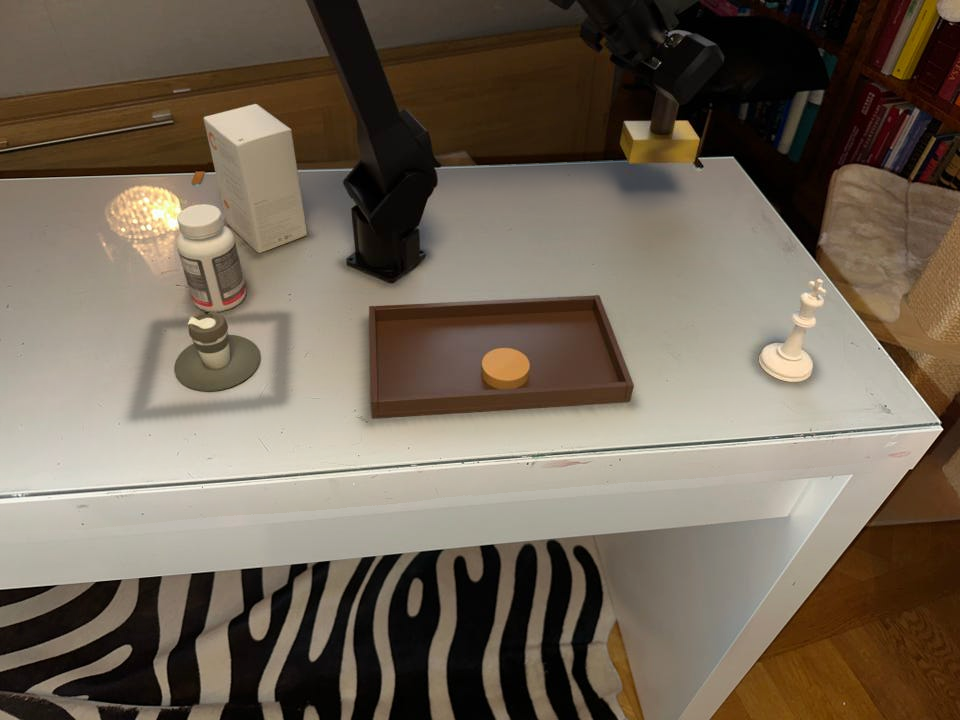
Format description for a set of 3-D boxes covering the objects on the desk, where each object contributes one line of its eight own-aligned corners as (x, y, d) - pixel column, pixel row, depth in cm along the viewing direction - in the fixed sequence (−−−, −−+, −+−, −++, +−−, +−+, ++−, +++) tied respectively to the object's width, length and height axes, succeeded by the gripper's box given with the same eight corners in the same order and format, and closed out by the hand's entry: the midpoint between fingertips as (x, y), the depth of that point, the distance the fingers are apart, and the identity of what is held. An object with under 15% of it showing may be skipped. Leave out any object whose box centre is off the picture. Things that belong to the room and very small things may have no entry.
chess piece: (784, 388, 70) (821, 304, 63) (747, 356, 73) (778, 272, 66) (822, 372, 72) (862, 289, 65) (785, 342, 75) (819, 259, 68)
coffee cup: (280, 400, 67) (272, 359, 63) (139, 413, 65) (122, 372, 62) (284, 315, 75) (276, 275, 72) (159, 325, 74) (145, 284, 70)
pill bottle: (243, 277, 80) (225, 196, 73) (250, 307, 76) (231, 225, 70) (190, 287, 78) (167, 204, 72) (194, 318, 75) (170, 234, 68)
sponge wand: (629, 163, 89) (651, 42, 80) (619, 144, 93) (639, 26, 83) (694, 162, 90) (724, 42, 80) (682, 143, 93) (709, 26, 84)
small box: (308, 236, 86) (293, 128, 77) (258, 255, 83) (235, 145, 74) (274, 206, 91) (256, 101, 82) (225, 223, 87) (200, 116, 79)
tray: (372, 418, 65) (370, 401, 64) (370, 322, 75) (368, 305, 74) (630, 402, 68) (634, 385, 67) (596, 310, 78) (599, 294, 76)
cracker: (472, 377, 69) (472, 368, 68) (497, 351, 72) (497, 341, 71) (513, 396, 67) (514, 387, 66) (537, 368, 70) (538, 359, 69)
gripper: (734, -44, 67) (788, 63, 79) (617, -91, 80) (679, 7, 91) (646, 56, 70) (711, 146, 81) (546, -4, 82) (615, 81, 93)
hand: (678, 90), depth 87 cm, fingers closed on sponge wand, 3 cm apart
